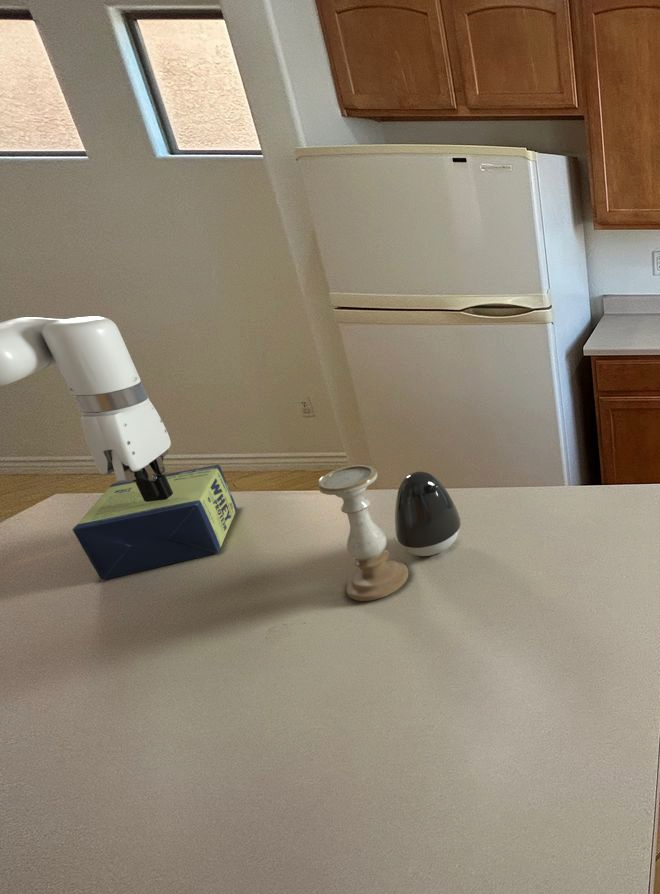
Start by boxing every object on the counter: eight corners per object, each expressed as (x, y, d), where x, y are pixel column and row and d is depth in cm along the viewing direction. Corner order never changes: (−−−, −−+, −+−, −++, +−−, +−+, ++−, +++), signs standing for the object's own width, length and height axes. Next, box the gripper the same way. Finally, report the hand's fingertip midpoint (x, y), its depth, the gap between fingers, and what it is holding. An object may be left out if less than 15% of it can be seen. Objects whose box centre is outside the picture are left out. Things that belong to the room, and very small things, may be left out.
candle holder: (338, 605, 86) (300, 494, 78) (360, 568, 94) (327, 464, 86) (399, 598, 88) (368, 489, 79) (415, 562, 95) (389, 460, 87)
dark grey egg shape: (424, 572, 93) (404, 496, 87) (389, 551, 98) (368, 478, 92) (476, 541, 101) (462, 469, 95) (442, 523, 106) (426, 453, 100)
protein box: (199, 503, 93) (220, 463, 105) (69, 529, 86) (109, 482, 98) (221, 553, 97) (239, 509, 109) (99, 582, 90) (133, 531, 102)
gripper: (115, 383, 91) (159, 479, 99) (43, 419, 78) (100, 527, 85) (170, 379, 93) (209, 473, 100) (109, 414, 80) (159, 519, 87)
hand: (159, 498), depth 93 cm, fingers closed
